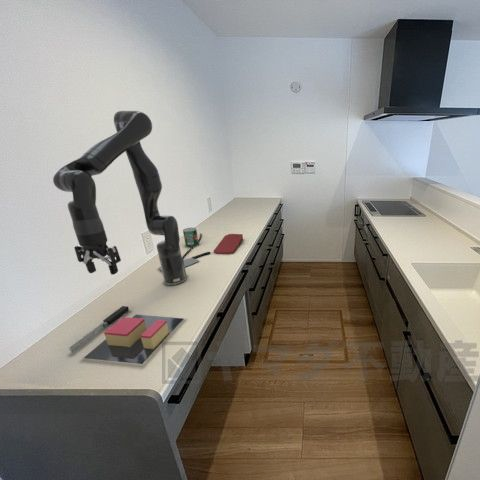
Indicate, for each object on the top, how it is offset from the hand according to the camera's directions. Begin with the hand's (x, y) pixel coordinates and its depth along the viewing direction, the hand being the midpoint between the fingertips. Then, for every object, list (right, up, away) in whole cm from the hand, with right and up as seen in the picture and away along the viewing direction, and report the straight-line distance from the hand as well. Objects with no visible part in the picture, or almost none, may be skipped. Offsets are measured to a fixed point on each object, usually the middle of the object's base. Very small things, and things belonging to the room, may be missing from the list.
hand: (103, 272), depth 94 cm
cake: (+12, -22, -4) cm, 25 cm away
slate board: (+15, -23, -3) cm, 27 cm away
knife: (-1, -21, +1) cm, 21 cm away
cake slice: (+22, -23, -4) cm, 32 cm away
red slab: (+20, +8, +77) cm, 80 cm away
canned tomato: (-6, +8, +77) cm, 78 cm away
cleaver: (+4, -1, +54) cm, 54 cm away
